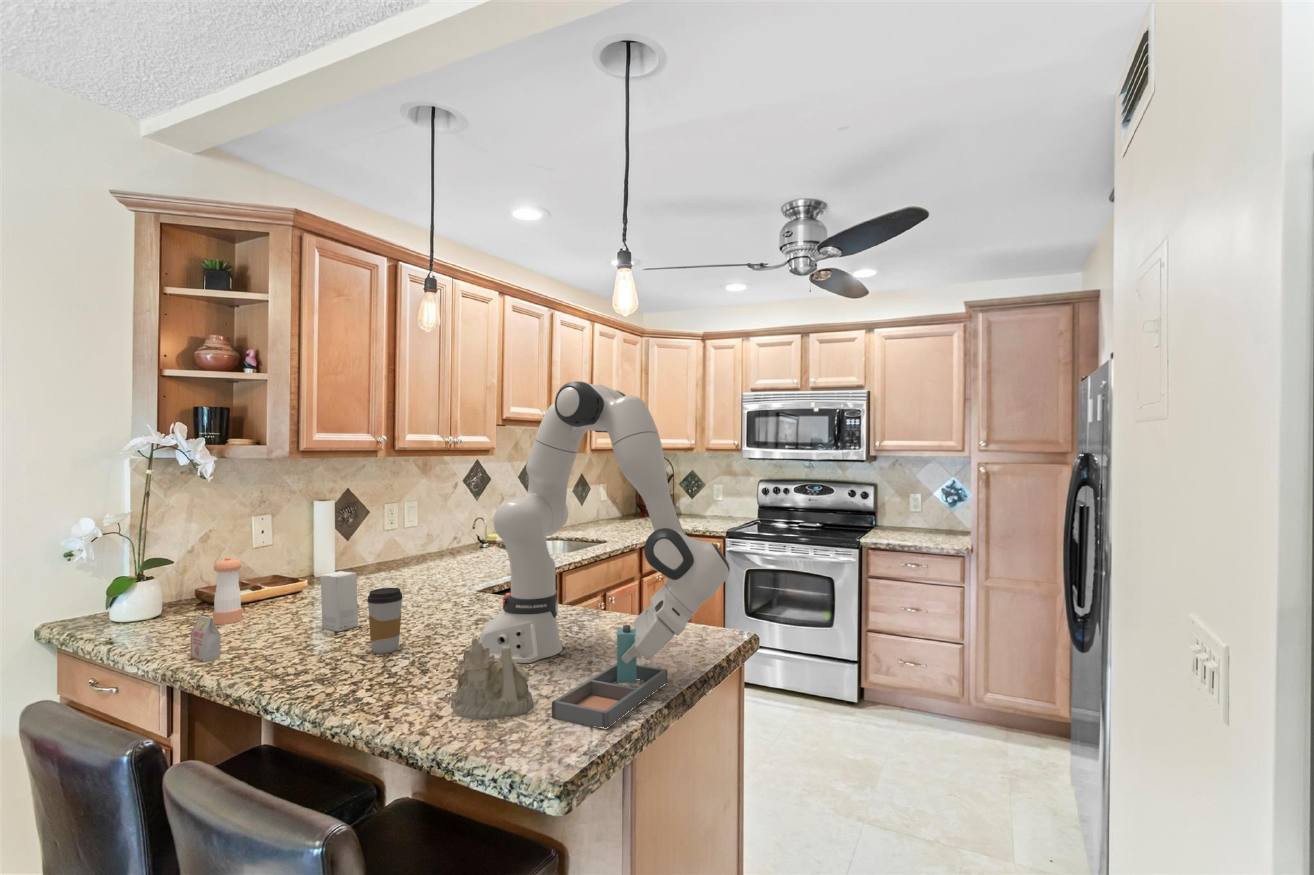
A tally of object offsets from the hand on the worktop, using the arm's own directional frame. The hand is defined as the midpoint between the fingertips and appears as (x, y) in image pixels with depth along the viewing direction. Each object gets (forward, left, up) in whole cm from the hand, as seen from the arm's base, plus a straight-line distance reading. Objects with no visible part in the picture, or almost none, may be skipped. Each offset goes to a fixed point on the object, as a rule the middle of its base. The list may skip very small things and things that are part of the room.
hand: (623, 655), depth 134 cm
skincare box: (-82, +53, -7) cm, 98 cm away
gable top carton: (-103, +29, -7) cm, 107 cm away
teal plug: (+1, 0, -5) cm, 5 cm away
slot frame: (-2, -5, -7) cm, 9 cm away
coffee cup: (-61, +31, -7) cm, 69 cm away
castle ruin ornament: (-26, -5, -7) cm, 28 cm away
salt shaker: (-119, +63, -7) cm, 135 cm away
